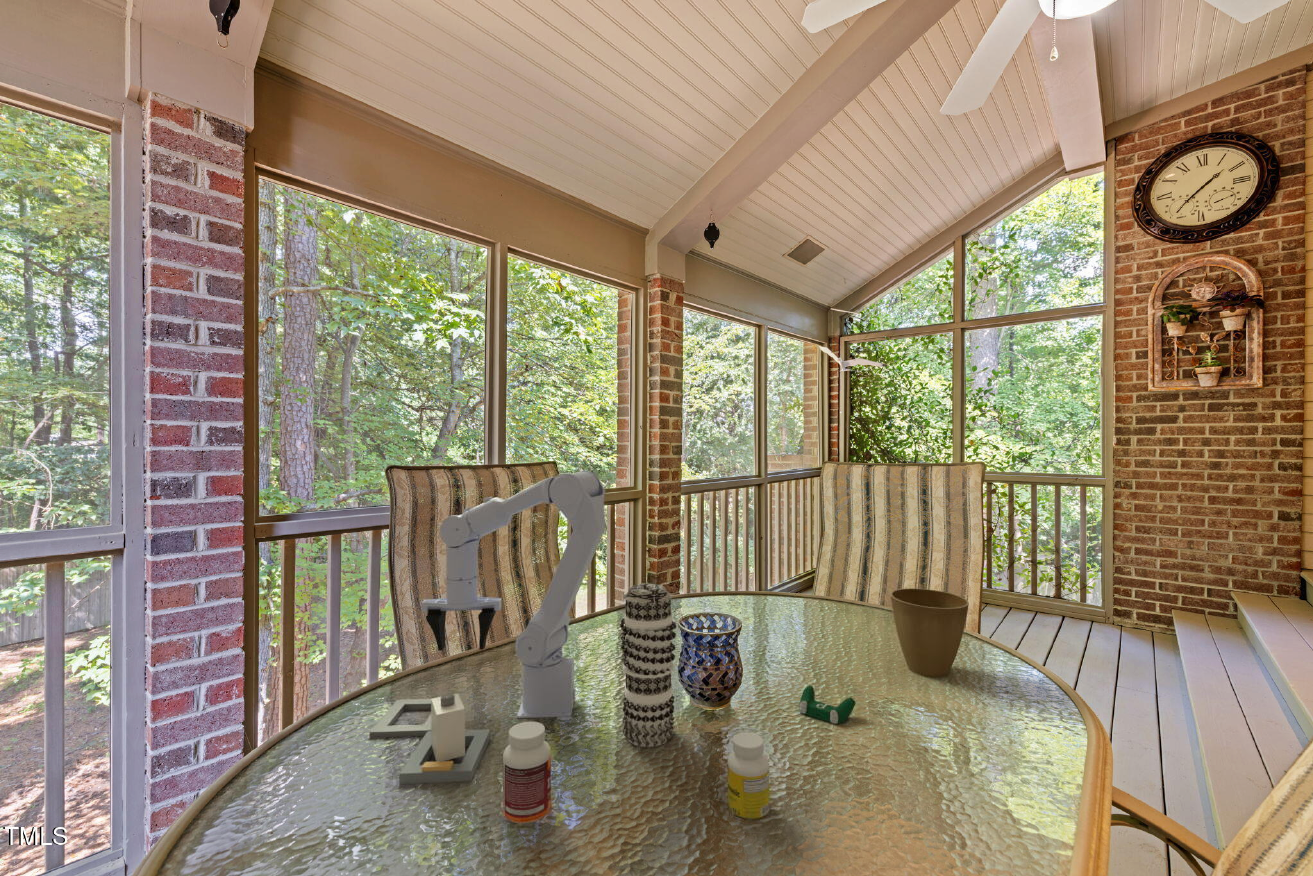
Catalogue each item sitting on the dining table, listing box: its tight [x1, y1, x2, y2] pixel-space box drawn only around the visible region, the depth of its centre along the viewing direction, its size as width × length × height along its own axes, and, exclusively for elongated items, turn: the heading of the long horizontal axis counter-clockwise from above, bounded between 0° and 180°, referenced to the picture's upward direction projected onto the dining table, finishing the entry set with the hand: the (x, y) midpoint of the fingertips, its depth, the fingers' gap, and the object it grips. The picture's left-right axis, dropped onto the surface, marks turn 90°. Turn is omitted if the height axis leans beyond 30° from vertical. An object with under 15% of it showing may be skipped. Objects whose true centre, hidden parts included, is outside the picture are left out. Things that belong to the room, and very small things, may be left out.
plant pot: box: [890, 587, 970, 678], centre depth 122 cm, size 15×15×16 cm
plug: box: [430, 693, 466, 762], centre depth 88 cm, size 4×6×8 cm, turn 28°
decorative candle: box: [619, 582, 677, 748], centre depth 95 cm, size 9×9×25 cm
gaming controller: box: [798, 685, 856, 726], centre depth 102 cm, size 9×4×6 cm
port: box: [398, 728, 491, 785], centre depth 88 cm, size 10×12×3 cm
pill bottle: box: [502, 721, 552, 824], centre depth 76 cm, size 6×6×11 cm
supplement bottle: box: [727, 731, 771, 821], centre depth 76 cm, size 5×5×10 cm
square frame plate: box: [369, 698, 432, 739], centre depth 102 cm, size 10×12×1 cm
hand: (462, 648), depth 111 cm, fingers open, 7 cm apart
